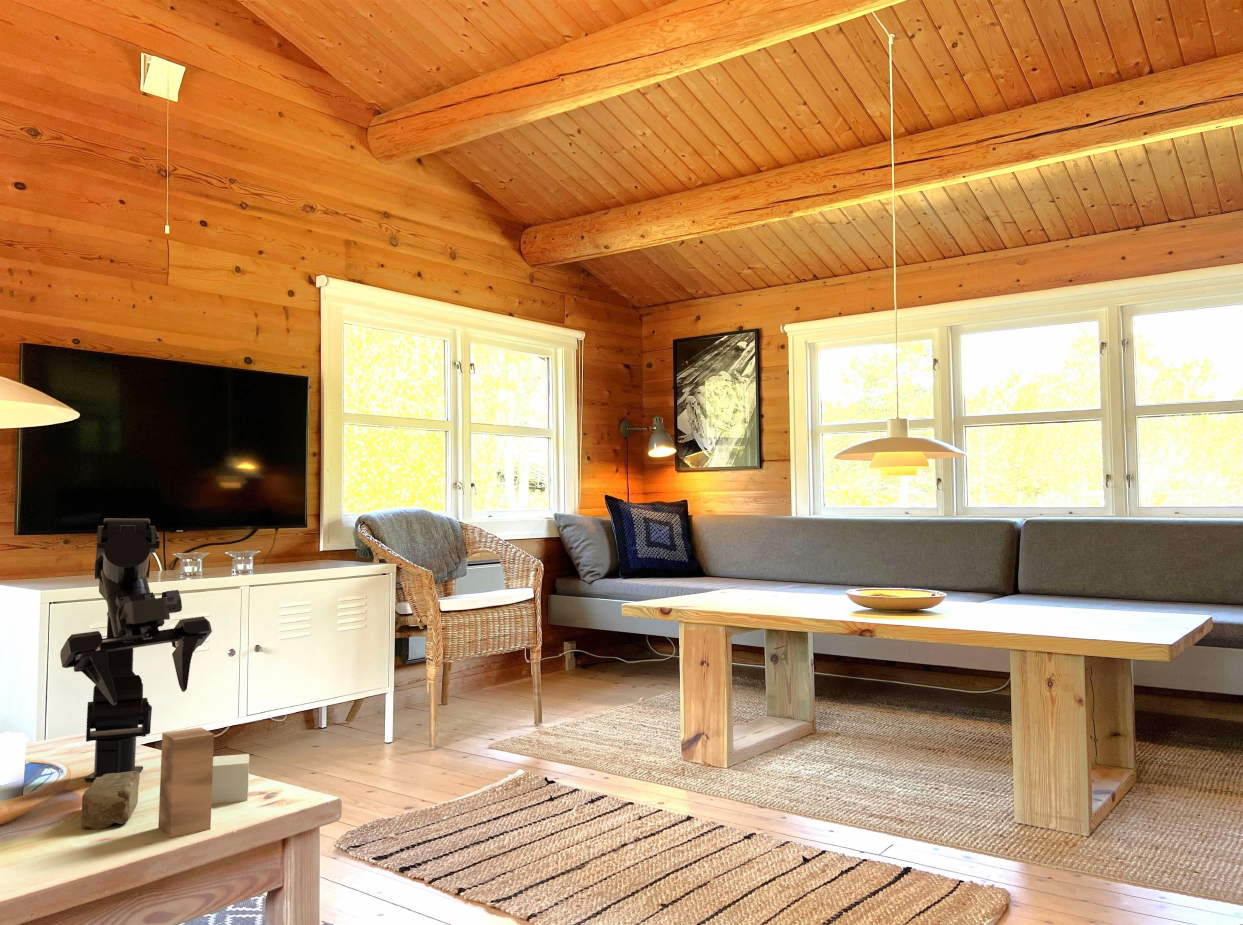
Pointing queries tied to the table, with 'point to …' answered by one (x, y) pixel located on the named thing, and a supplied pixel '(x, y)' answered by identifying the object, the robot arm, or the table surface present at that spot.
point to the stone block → (110, 800)
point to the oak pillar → (186, 781)
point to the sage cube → (230, 778)
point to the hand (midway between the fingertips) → (150, 697)
